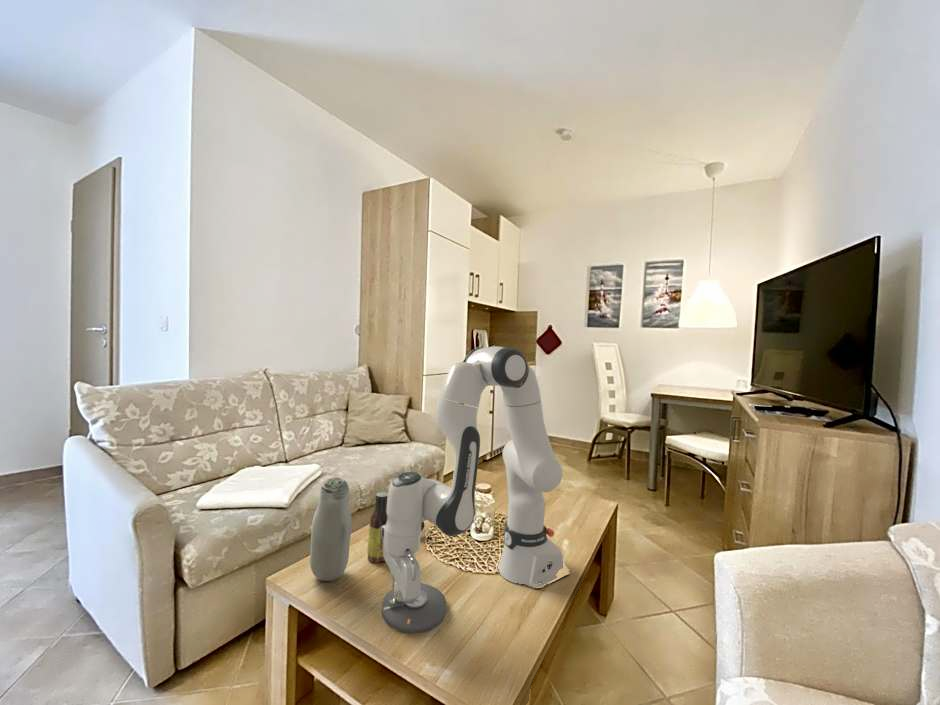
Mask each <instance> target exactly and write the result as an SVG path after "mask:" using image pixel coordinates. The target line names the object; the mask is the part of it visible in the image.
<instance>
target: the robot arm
mask: <svg viewBox="0 0 940 705" xmlns="http://www.w3.org/2000/svg"><path fill="white" fill-rule="evenodd" d="M536 376H537V375H536V373H535V370H534V369H533V368H532V367H531V366H529V364H528V361H527V359H526V357H525V355H524V354H523V352H521V351H520V350H518V349H516V348H513V347H504V346H497V345H495V346H494V345H492V346H489V347H485V346H484V347H483V346H482V347H476V348H474V349H471V350H470V351H469V352H468V353H467V354H466V356H464V359H463V361H462V362H456V363H454V364H453V365H451V366H450V368H449V370H448V372H447V374H446V376H445V378H444V381H443V383H442V386H441V388H440V392H439V395H438V398H437V403H436V406H435V412H434V421H435V423H436V426H437V427H438V430H439V431H440V432H441V433H442V434H443V435H444V436H445V438H446V439H447V440H448V442H450V445H451V447H452V449H453V451H454V459H455V460H454V467H453V473H452V474H453V475H452V483H451V487H450V486H448V485H447V484H445V483H443V482H441V481H439V480H436V479H435V478H426V477H424V476H422V475H421V474H420V473H418V472H415V471H404V472H402V473H399V474H397V475H395V476H394V477H393V478H392V480H391V482H390V485H389V488H388V492H387V493H388V498H387V509H386V513H387V523H386V525H383V526H382V527H381V534H382V536H383V542H382V547H383V557H384V559H385V560H384V562H385V564H386V565H387V567H388V570H389V571H390V573H391V574H390V575H391V579H392V580H391V582H392V584H391V585H392V586H391V588H392V589H393V590H394V581H395V582H396V584H397V586H398V588H399V590H398V591H397V599H398V601H403V600H406V601H407V600H412V599H416V598H418V597H419V595H420V585H421V580H422V579H421V576H422V575H421V566H420V563H419V562H418V559H416V557H415V554H416V553H417V552H418V551H419V549H420V547H421V537H422V531H421V523H422V522H423V521H424V522H426V521H428V522H429V523H431V524H432V525H434V526H435V527H437V528H438V529H439V530H440V531H441V532H442V533H444V535H446V536H447V537H456V536H459V535H462V534H464V532H466V531H468V529H469V528H470V527H471V526H472V524H473V522H474V518H475V516H476V501H475V495H476V494H475V492H476V484H477V477H478V468H479V458H480V450H481V447H480V446H481V437H480V432H479V431H478V424H477V422H478V421H477V419H478V418H477V417H478V411H479V407H480V402H481V397H482V393H483V392H484V390H485V389H486V387H488V386H491V387H493V386H494V387H495V386H498V387H500V388H501V390H502V391H501V392H502V399H503V407H504V414H505V422H506V429H507V432H508V434H509V435H510V438H511V439H510V440H509V441H507V443H505V445H504V447H503V448H502V449H503V450H502V459H503V463H504V465H505V474H506V475H505V476H506V484H507V492H508V503H507V504H508V505H507V517H506V522H505V524H504V535H503V538H504V539H503V540H504V543H503V549H502V553H501V555H500V556H501V557H500V560H499V561H498V562H499V563H498V564H497V570H498V569H499V571H498V573H499V572H500V573H499V574H500V576H501V577H503V578H504V579H506V581H509V582H511V583H513V584H516V583H519V584H518V585H521V584H527V585H531V586H533V587H541V586H543V585H544V584H547V583H548V582H550V581H552V580H554V579H556V578H557V576H556V574H557V573H558V571H559V570H560V569H562V568H563V561H564V558H563V553H562V551H561V549H560V547H558V545H556V543H554V542H553V541H552V540H551V539H550V538H552V537H554V535H555V531H554V530H553V529H551V527H547V526H545V525H544V524H545V523H544V522H545V512H546V500H545V498H544V497H545V496H544V495H543V493H550V492H552V491H554V490H555V489H556V488H558V486H559V485H560V484H561V482H562V480H563V468H562V466H561V464H560V462H559V461H558V459H557V458H556V455H555V452H554V450H553V447H552V443H551V442H550V437H549V435H548V432H547V429H546V425H545V420H544V413H543V404H542V399H541V391H540V387H539V382H538V379H537V377H536ZM547 535H548V536H549V538H548V536H547ZM539 583H541V584H539Z"/></svg>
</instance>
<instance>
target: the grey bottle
mask: <svg viewBox="0 0 940 705" xmlns="http://www.w3.org/2000/svg"><path fill="white" fill-rule="evenodd" d="M349 491H350V488H349V484H348V482H347V481H346V480H344V479H343V478H341V477H330V478H328V479H326V480H324V482H323V483H322V485H321V487H320V491H319V492H320V494H319V498H318V499H319V500H318V503H317V505H316V506H317V507H316V510H315V511H314V515H313V518H312V522H311V533H310V537H311V538H310V552H309V553H310V555H309V566H310V570H311V573H312V574H313V575H314V577H316V579H318V580H320V581H325V582H331V581H335V580H336V579H338V578H340V577H341V576H342V575H343V574H344V572H345V570H346V568H347V565H348V561H349V556H350V546H351V545H350V544H351V535H352V533H351V532H352V522H353V521H352V520H353V519H352V513H351V507H350V502H349V495H350V494H349V493H350V492H349Z"/></svg>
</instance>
